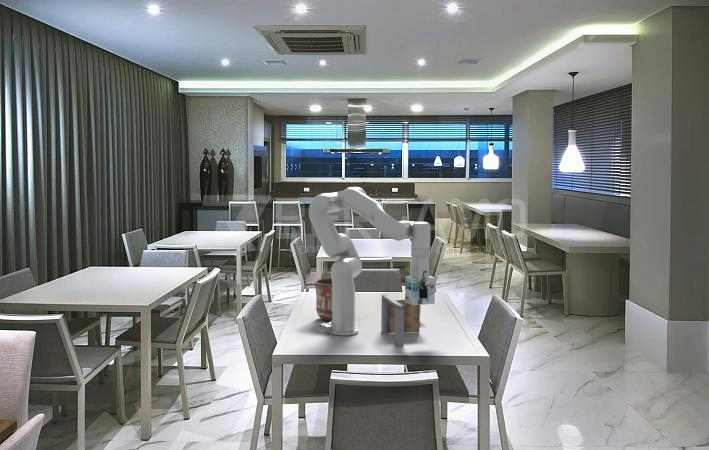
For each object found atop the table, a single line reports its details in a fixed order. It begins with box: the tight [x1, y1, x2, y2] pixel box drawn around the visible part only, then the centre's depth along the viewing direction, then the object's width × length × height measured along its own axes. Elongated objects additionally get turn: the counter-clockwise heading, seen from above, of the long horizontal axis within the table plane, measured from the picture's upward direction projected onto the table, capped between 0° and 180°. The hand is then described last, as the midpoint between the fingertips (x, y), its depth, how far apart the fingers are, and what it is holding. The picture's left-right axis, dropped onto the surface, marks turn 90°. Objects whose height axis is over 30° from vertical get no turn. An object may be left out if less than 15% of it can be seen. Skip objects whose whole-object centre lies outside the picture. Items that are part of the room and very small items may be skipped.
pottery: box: [314, 277, 333, 323], centre depth 281 cm, size 18×18×18 cm
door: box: [386, 299, 421, 334], centre depth 258 cm, size 14×1×14 cm, turn 99°
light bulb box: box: [404, 275, 436, 306], centre depth 246 cm, size 11×7×11 cm, turn 112°
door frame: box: [380, 294, 405, 348], centre depth 249 cm, size 2×24×16 cm, turn 14°
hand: (419, 296), depth 246 cm, fingers closed on light bulb box, 7 cm apart
